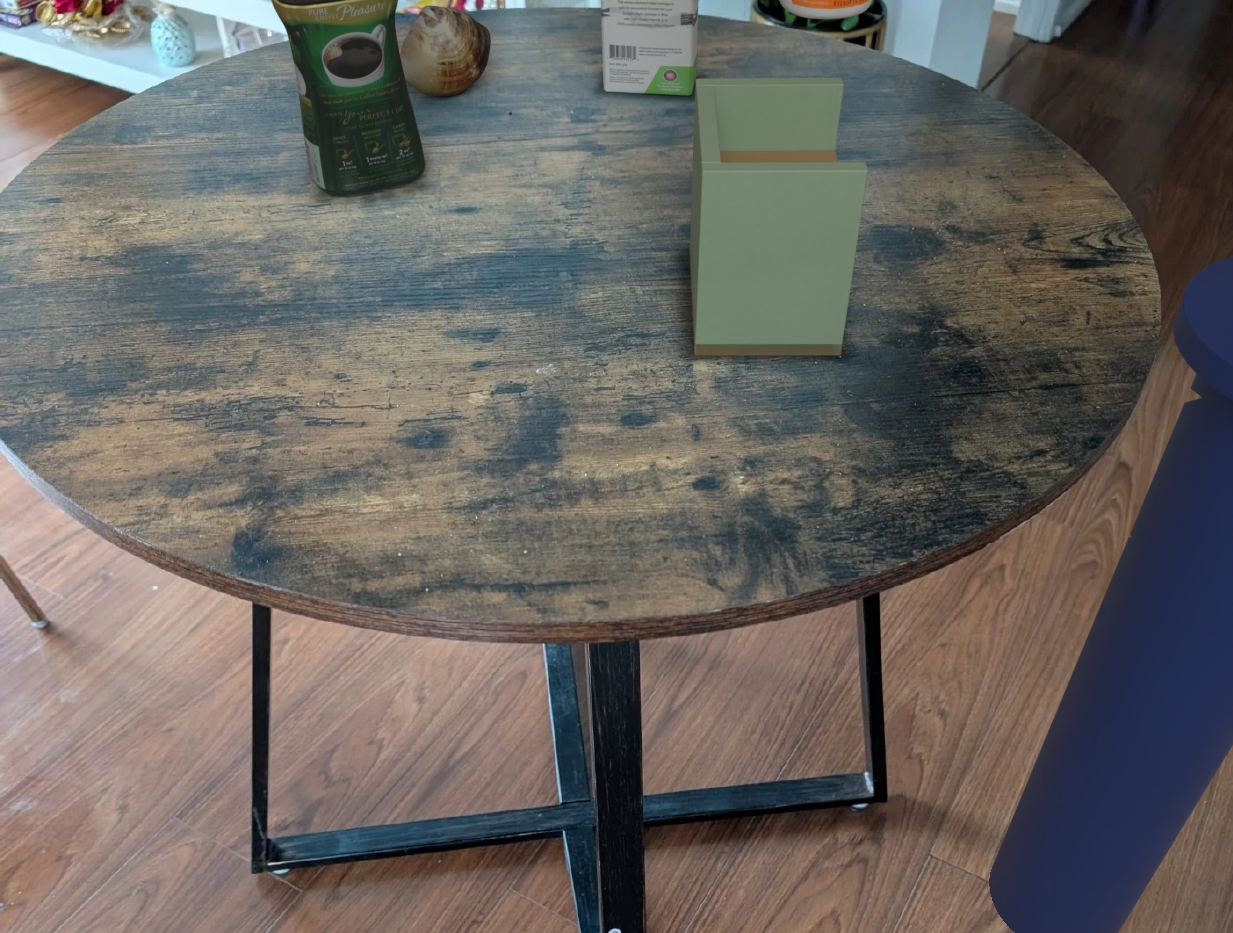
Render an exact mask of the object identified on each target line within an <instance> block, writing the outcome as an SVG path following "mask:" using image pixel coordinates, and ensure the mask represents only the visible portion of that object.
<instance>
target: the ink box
mask: <svg viewBox="0 0 1233 933" xmlns="http://www.w3.org/2000/svg"><path fill="white" fill-rule="evenodd" d="M600 17H601V18H600V19H601V21H600V22H601V23H600V24H601V52H602V53H601V54H602V57H601V58H602V83H603V84H602V85H603V90H604V92H607V93H625V94H627V93H628V94H646V95H647V94H648V95H649V94H650V95H664V96H665V95H667V96H668V95H669V96H692V94H693V91H694V88H695V85H696V79H697V75H698V39H699V38H698V36H699V35H698V34H699V32H698V30H699V0H600Z"/></svg>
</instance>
